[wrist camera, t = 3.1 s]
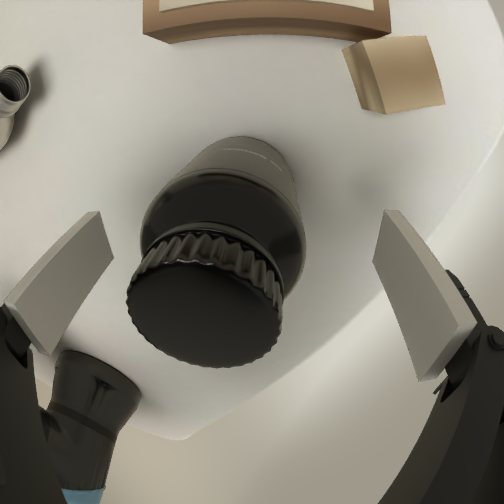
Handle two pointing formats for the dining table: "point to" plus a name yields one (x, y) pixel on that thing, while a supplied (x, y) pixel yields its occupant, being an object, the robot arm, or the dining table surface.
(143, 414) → the dining table surface
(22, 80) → the plastic bottle
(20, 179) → the dining table surface
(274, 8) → the base
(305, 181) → the dining table surface
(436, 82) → the beech cube
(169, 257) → the supplement bottle
